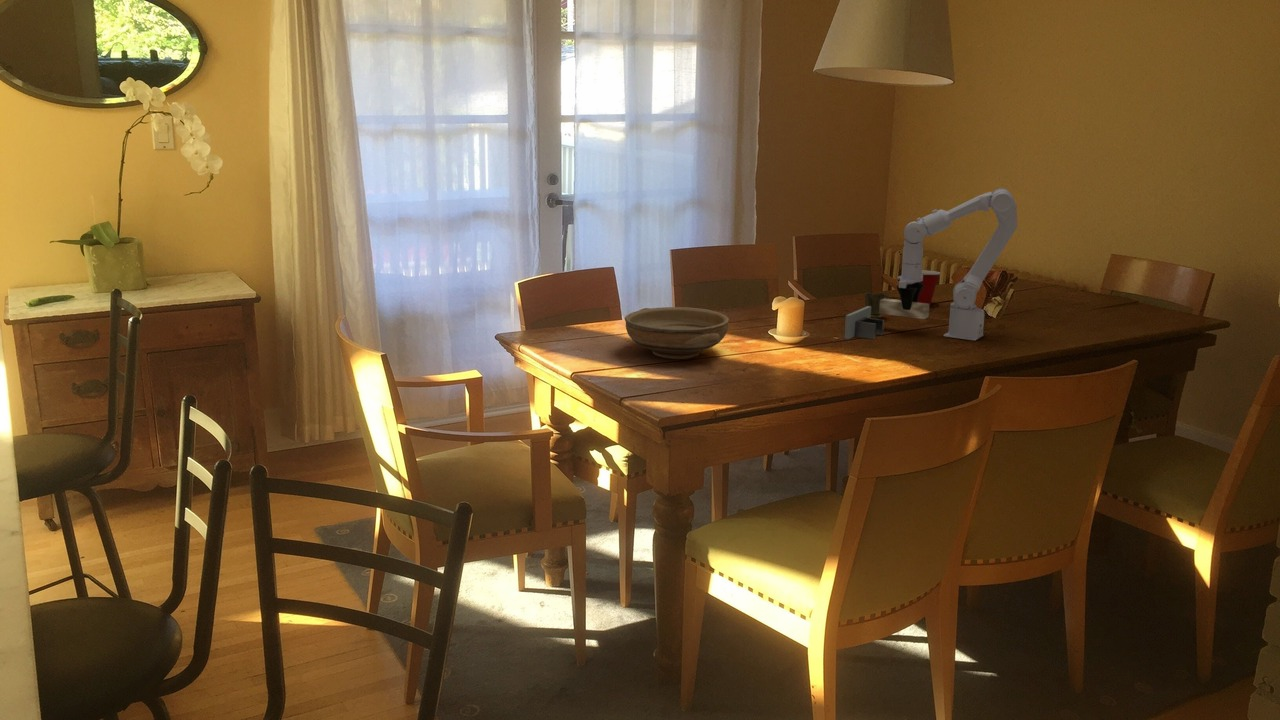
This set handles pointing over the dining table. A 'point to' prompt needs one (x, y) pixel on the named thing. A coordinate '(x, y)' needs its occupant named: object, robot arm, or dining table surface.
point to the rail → (896, 309)
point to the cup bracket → (869, 327)
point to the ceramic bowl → (676, 330)
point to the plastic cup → (928, 286)
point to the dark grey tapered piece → (874, 303)
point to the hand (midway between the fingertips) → (909, 308)
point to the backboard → (853, 318)
